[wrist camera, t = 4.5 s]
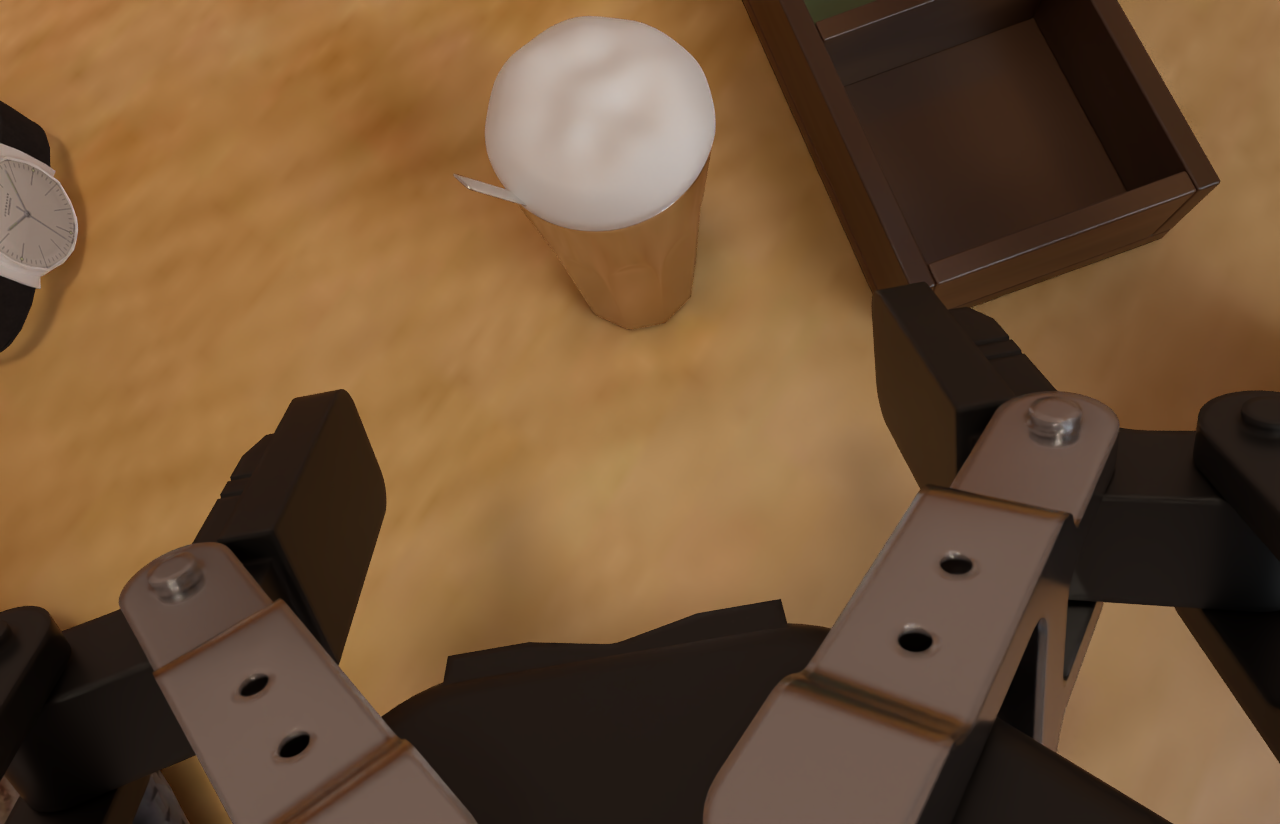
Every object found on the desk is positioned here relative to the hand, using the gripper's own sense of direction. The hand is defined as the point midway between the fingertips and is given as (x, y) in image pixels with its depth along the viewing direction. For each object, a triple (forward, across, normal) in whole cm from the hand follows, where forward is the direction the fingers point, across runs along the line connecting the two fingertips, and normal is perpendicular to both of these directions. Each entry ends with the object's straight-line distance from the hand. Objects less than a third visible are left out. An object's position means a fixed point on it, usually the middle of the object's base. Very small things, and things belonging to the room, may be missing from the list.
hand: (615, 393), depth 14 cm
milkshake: (+12, 0, +4) cm, 13 cm away
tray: (+18, -9, -3) cm, 20 cm away
